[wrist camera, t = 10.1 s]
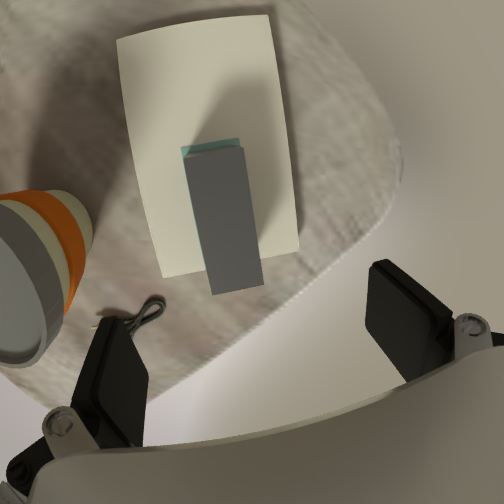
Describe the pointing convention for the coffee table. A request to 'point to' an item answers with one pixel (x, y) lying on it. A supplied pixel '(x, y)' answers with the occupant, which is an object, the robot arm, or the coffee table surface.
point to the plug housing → (224, 217)
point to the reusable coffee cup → (38, 269)
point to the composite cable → (138, 322)
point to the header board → (206, 128)
